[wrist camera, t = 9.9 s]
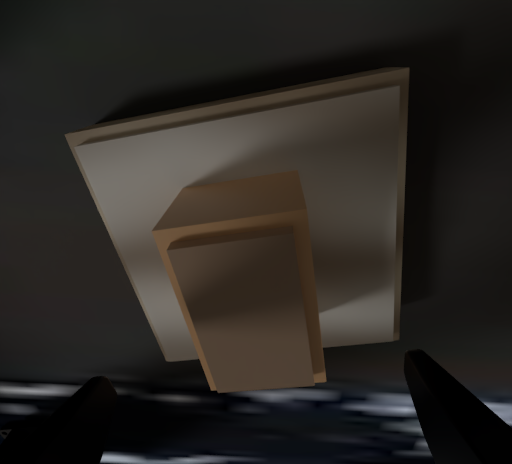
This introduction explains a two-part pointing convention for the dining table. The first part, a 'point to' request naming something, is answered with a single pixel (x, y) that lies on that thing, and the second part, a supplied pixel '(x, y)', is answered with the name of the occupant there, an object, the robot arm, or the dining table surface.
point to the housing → (246, 281)
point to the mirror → (264, 163)
